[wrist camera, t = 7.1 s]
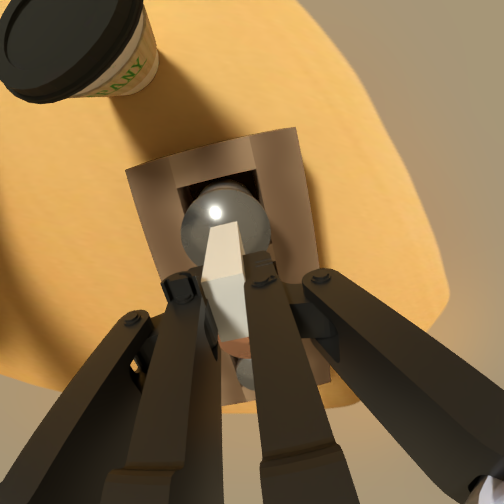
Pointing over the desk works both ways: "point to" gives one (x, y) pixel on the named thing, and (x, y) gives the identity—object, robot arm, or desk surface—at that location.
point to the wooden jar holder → (269, 196)
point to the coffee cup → (76, 49)
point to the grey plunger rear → (245, 373)
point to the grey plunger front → (224, 218)
